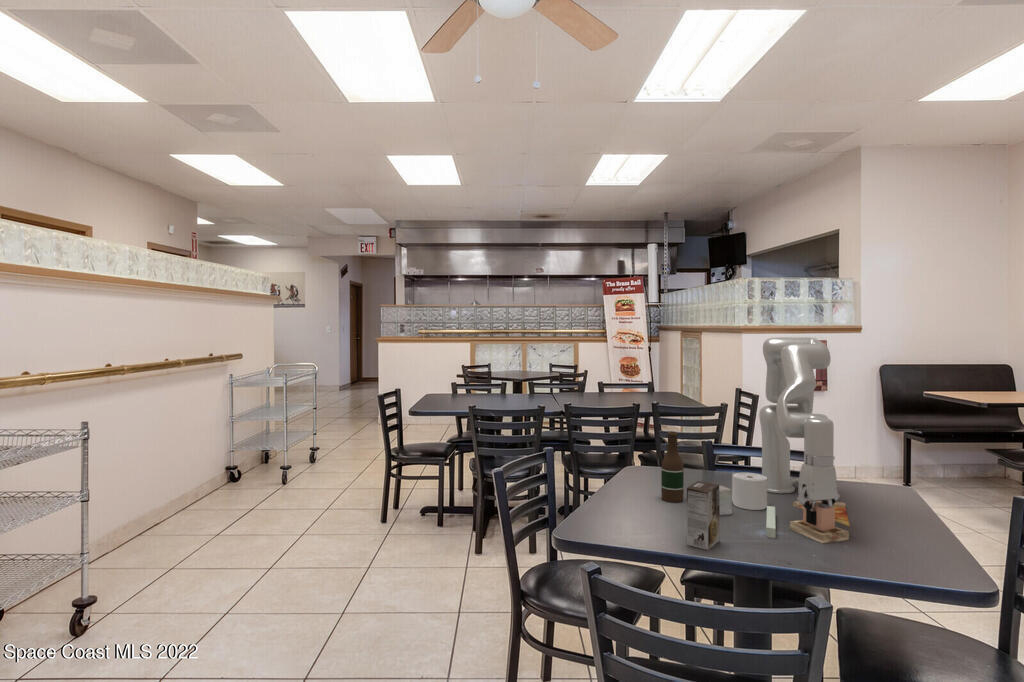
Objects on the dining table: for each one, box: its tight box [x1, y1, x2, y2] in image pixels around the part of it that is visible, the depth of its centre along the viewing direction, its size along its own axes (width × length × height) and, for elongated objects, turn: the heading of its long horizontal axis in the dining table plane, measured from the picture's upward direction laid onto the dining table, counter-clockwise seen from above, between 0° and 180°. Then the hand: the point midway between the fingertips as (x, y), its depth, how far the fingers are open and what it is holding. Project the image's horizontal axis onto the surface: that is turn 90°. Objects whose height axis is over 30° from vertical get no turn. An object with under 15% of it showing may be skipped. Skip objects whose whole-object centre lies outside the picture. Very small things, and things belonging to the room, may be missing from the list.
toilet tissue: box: [731, 470, 768, 511], centre depth 189 cm, size 11×12×10 cm
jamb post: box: [719, 485, 733, 516], centre depth 181 cm, size 5×5×8 cm
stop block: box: [802, 501, 836, 530], centre depth 161 cm, size 4×7×7 cm, turn 16°
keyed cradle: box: [789, 519, 850, 544], centre depth 161 cm, size 9×12×2 cm
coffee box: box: [686, 480, 721, 551], centre depth 155 cm, size 9×6×16 cm
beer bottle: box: [660, 430, 685, 503], centre depth 196 cm, size 8×8×24 cm
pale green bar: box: [765, 505, 777, 539], centre depth 169 cm, size 22×2×3 cm, turn 155°
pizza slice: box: [792, 500, 851, 528], centre depth 181 cm, size 16×22×2 cm
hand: (818, 522), depth 162 cm, fingers closed on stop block, 4 cm apart
